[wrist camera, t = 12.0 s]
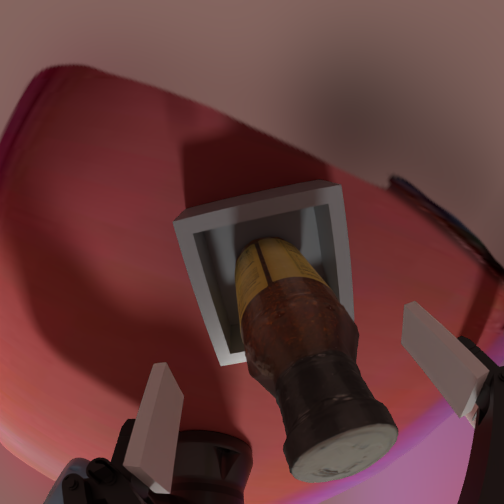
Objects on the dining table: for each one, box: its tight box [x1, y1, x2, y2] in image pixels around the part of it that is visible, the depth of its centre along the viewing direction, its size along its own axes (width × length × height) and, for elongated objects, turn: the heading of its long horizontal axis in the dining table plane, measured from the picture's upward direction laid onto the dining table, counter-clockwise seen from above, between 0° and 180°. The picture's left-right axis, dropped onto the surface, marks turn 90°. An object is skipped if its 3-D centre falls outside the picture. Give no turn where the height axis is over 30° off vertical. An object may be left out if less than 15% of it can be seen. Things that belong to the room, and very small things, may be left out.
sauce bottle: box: [235, 237, 398, 483], centre depth 17 cm, size 7×6×20 cm
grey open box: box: [173, 179, 354, 366], centre depth 24 cm, size 12×13×6 cm
